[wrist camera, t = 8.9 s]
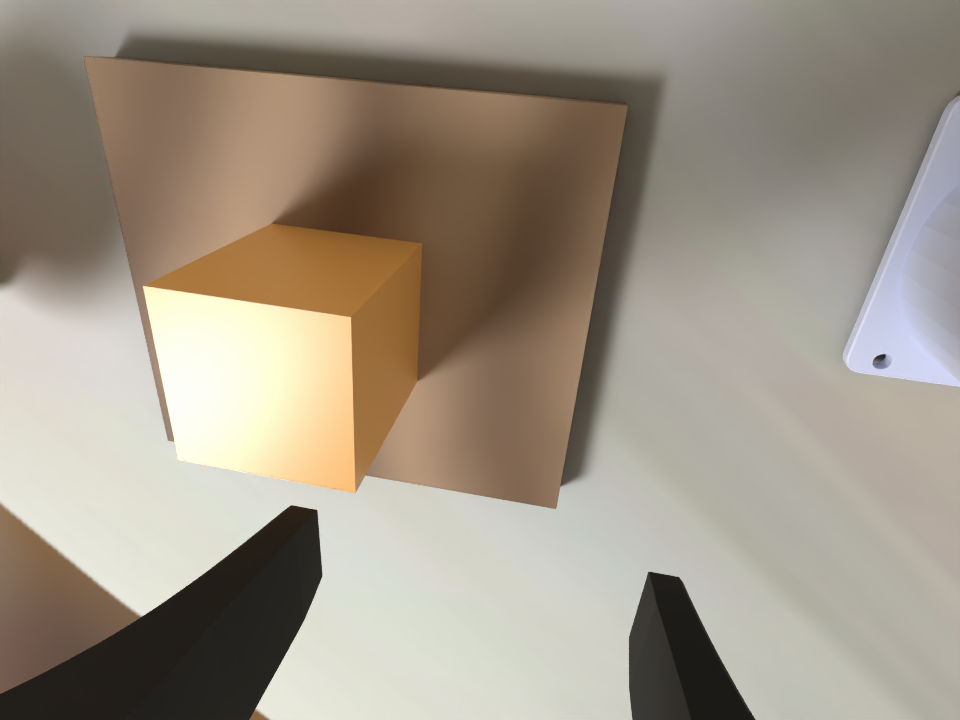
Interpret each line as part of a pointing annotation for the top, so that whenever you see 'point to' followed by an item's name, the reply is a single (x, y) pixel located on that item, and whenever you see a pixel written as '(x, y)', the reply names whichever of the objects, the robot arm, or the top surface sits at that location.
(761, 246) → the top surface
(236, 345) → the orange wooden cube
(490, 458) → the post board
